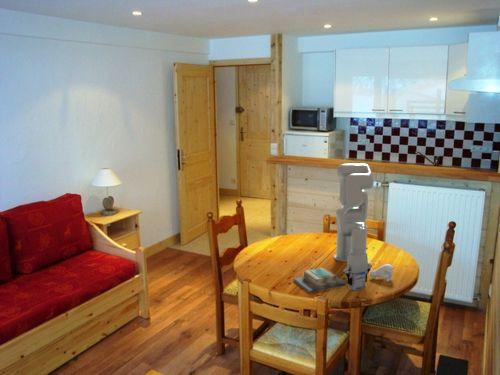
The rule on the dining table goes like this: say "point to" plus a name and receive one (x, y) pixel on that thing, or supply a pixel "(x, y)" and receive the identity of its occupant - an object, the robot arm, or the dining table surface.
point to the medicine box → (358, 281)
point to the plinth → (314, 289)
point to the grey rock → (383, 272)
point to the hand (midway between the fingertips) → (357, 282)
